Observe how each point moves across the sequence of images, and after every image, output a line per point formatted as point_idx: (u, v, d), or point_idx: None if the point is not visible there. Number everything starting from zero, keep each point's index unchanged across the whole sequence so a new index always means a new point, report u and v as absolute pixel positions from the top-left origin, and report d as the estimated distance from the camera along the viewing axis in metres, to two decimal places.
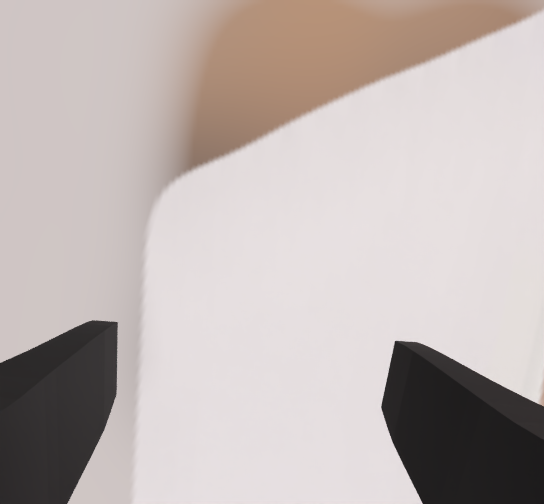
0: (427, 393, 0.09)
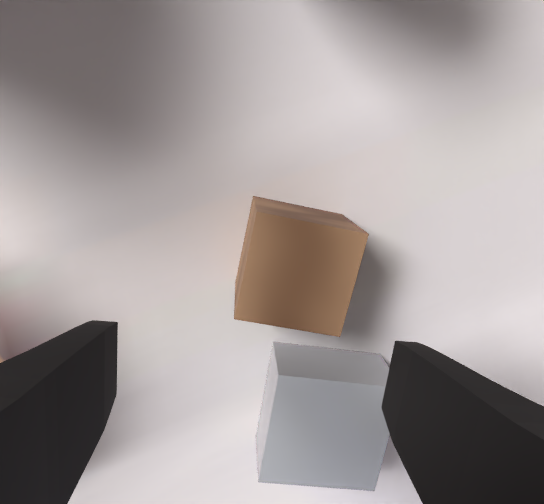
0: (427, 393, 0.09)
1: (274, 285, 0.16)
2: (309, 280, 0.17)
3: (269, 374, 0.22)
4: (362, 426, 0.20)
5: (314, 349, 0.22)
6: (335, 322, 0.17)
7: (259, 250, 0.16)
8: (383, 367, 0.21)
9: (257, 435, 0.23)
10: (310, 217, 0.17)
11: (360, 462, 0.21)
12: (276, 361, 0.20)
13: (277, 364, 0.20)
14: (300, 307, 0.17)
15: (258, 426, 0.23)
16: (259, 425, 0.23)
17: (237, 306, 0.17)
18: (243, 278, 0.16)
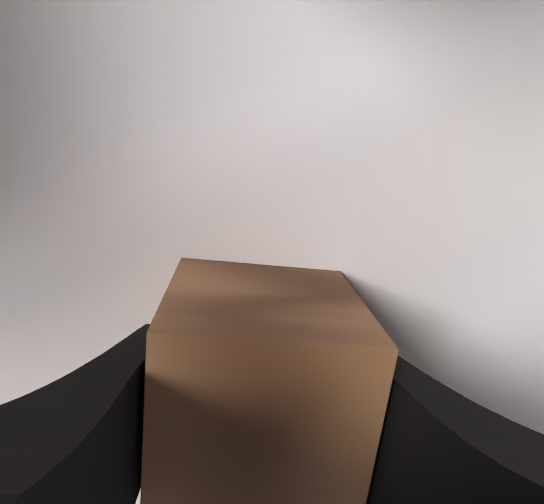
0: None
1: (211, 468, 0.08)
2: (282, 451, 0.08)
3: None
4: None
5: None
6: None
7: (167, 407, 0.07)
8: None
9: None
10: (275, 313, 0.08)
11: None
12: None
13: None
14: (272, 500, 0.08)
15: None
16: None
17: None
18: (143, 463, 0.08)
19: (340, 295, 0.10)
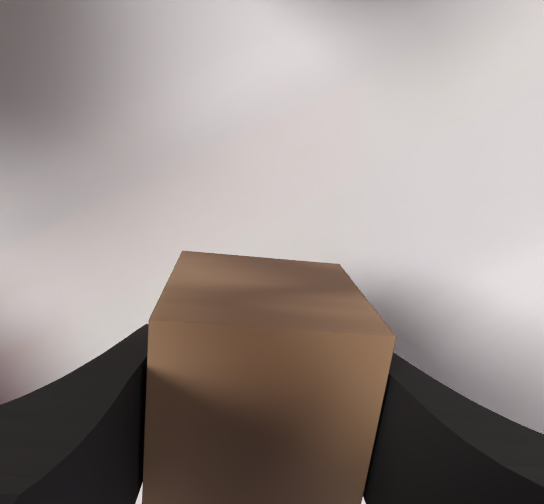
0: None
1: (212, 454, 0.08)
2: (282, 437, 0.08)
3: None
4: None
5: None
6: None
7: (168, 393, 0.08)
8: None
9: None
10: (274, 302, 0.09)
11: None
12: None
13: None
14: (271, 486, 0.08)
15: None
16: None
17: (144, 499, 0.08)
18: (146, 449, 0.08)
19: (339, 286, 0.10)
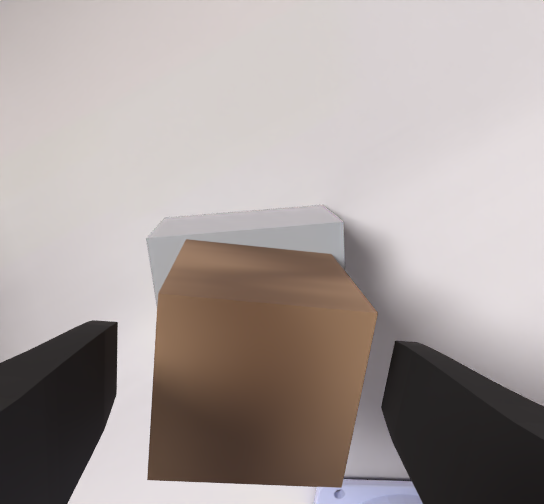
0: (427, 394, 0.09)
1: (212, 417, 0.09)
2: (275, 403, 0.09)
3: None
4: None
5: (223, 214, 0.15)
6: (330, 466, 0.10)
7: (174, 361, 0.09)
8: (321, 212, 0.14)
9: None
10: (270, 283, 0.10)
11: None
12: (155, 230, 0.14)
13: (153, 231, 0.13)
14: (265, 449, 0.09)
15: None
16: None
17: (150, 458, 0.09)
18: (153, 412, 0.09)
19: (329, 272, 0.11)
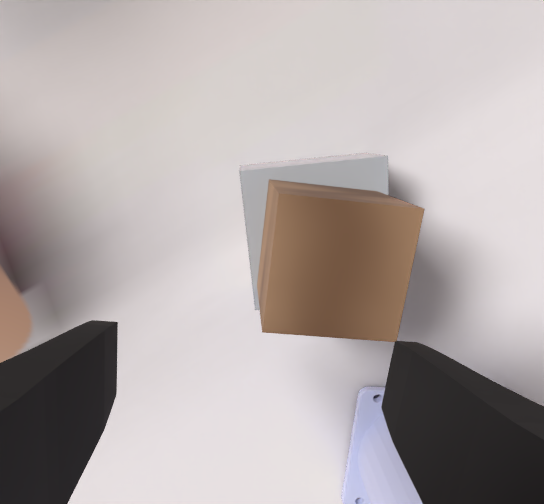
0: (427, 394, 0.09)
1: (309, 285, 0.13)
2: (352, 275, 0.13)
3: None
4: None
5: (287, 161, 0.19)
6: (389, 325, 0.14)
7: (286, 242, 0.13)
8: (366, 154, 0.18)
9: None
10: (345, 196, 0.14)
11: None
12: (240, 169, 0.18)
13: (240, 169, 0.17)
14: (344, 310, 0.13)
15: None
16: None
17: (265, 316, 0.13)
18: (269, 280, 0.13)
19: (381, 196, 0.15)
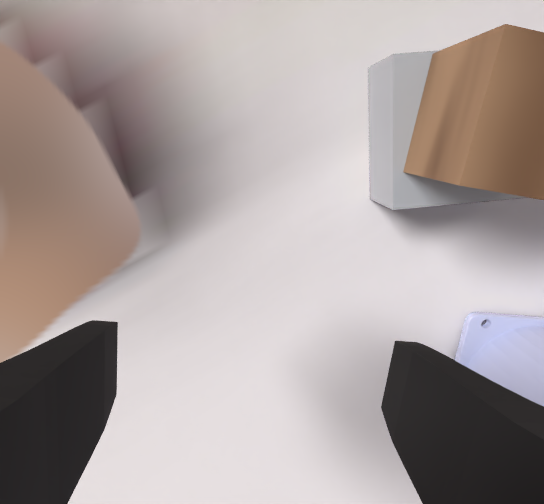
0: (427, 394, 0.09)
1: (516, 134, 0.12)
2: None
3: (373, 100, 0.18)
4: None
5: None
6: None
7: (502, 82, 0.12)
8: None
9: (372, 190, 0.20)
10: None
11: None
12: (382, 61, 0.17)
13: (385, 58, 0.17)
14: None
15: (371, 181, 0.20)
16: (372, 174, 0.19)
17: (464, 167, 0.13)
18: (477, 125, 0.12)
19: None
